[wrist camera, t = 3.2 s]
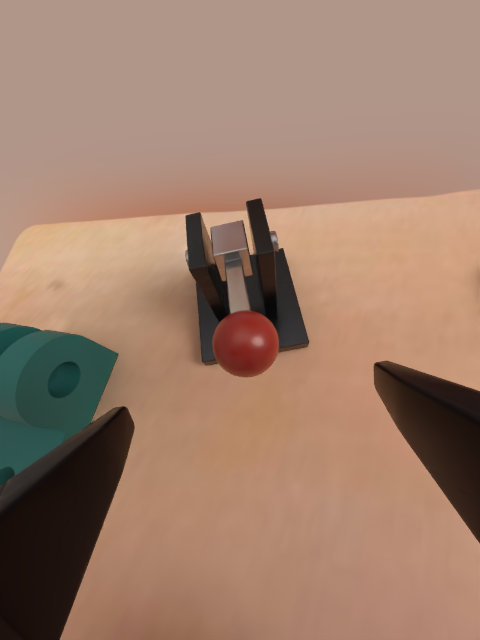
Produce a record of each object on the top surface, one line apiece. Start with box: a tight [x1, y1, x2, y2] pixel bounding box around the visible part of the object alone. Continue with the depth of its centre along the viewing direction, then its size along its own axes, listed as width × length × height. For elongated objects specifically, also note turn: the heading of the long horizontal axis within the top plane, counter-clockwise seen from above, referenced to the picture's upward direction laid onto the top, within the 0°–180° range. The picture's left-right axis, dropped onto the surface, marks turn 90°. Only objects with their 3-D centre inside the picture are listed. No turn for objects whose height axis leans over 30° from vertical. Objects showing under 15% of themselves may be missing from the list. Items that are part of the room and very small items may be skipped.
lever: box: [211, 220, 279, 377], centre depth 15 cm, size 10×3×3 cm, turn 8°
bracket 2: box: [186, 198, 309, 365], centre depth 20 cm, size 10×9×10 cm
